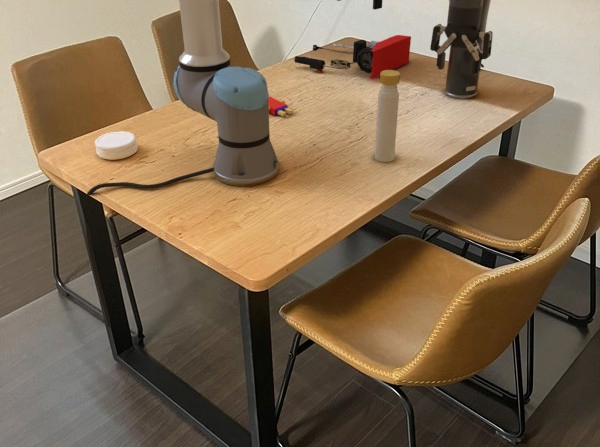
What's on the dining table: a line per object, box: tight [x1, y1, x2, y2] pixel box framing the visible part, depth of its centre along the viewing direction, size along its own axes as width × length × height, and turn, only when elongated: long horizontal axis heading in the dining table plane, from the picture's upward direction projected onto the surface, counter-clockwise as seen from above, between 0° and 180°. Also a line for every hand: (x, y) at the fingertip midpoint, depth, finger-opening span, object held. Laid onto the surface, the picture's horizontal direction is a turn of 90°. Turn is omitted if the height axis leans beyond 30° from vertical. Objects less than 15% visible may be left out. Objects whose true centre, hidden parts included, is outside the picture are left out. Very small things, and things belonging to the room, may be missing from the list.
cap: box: [379, 69, 401, 86], centre depth 140 cm, size 4×4×2 cm
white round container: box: [94, 130, 139, 161], centre depth 154 cm, size 10×10×4 cm
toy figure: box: [268, 96, 294, 117], centre depth 177 cm, size 2×7×12 cm
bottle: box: [374, 84, 400, 163], centre depth 145 cm, size 5×5×21 cm
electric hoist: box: [293, 34, 412, 80], centre depth 208 cm, size 10×27×30 cm
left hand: (358, 4), depth 166 cm, fingers open, 13 cm apart
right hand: (457, 71), depth 151 cm, fingers open, 8 cm apart
